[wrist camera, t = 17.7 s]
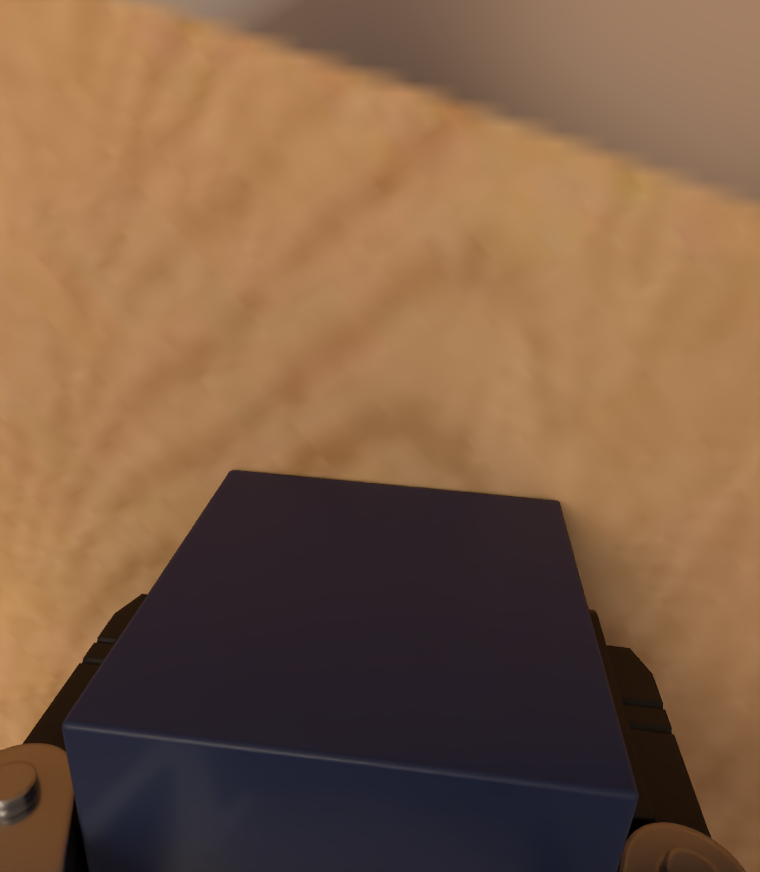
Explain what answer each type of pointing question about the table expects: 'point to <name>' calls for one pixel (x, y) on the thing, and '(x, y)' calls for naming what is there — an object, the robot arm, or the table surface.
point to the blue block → (356, 693)
